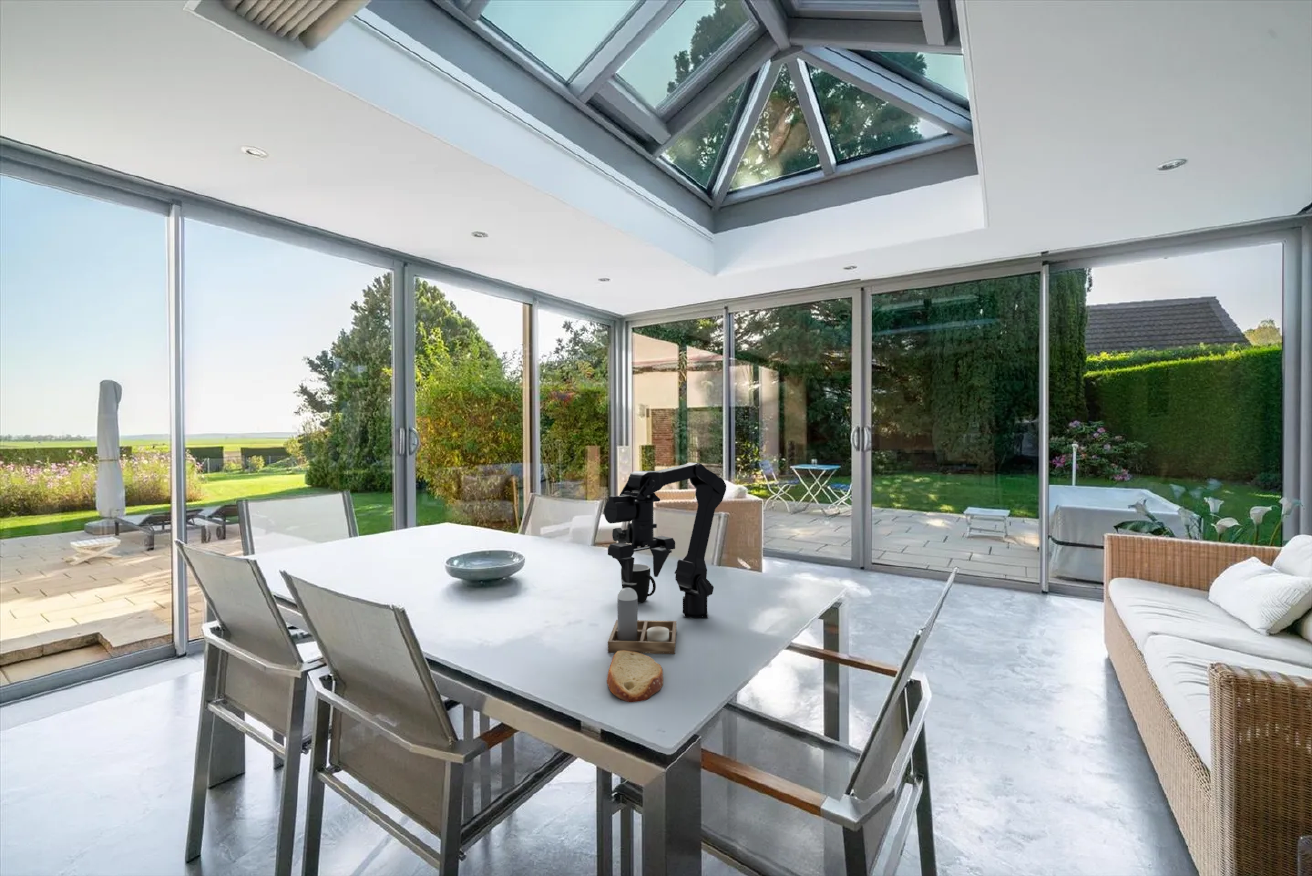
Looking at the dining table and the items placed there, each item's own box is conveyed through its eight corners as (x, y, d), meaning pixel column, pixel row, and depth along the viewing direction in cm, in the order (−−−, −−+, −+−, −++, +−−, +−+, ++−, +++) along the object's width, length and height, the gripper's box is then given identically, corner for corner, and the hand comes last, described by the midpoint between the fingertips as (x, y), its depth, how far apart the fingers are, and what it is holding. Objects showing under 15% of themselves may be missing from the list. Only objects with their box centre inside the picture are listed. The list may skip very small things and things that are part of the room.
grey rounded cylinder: (634, 639, 139) (634, 584, 139) (639, 646, 134) (639, 589, 134) (615, 641, 138) (615, 586, 138) (619, 648, 133) (619, 591, 133)
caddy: (676, 630, 147) (676, 615, 147) (674, 654, 131) (674, 636, 131) (616, 629, 148) (616, 614, 148) (607, 652, 132) (607, 635, 132)
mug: (614, 601, 173) (614, 568, 173) (633, 594, 180) (633, 562, 180) (645, 608, 165) (645, 573, 165) (664, 601, 173) (664, 568, 172)
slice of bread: (626, 655, 131) (626, 639, 131) (690, 676, 120) (690, 658, 120) (568, 682, 117) (568, 664, 117) (635, 708, 106) (635, 689, 106)
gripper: (649, 513, 159) (649, 568, 160) (594, 519, 147) (594, 580, 147) (676, 517, 151) (676, 576, 151) (621, 524, 139) (621, 588, 139)
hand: (642, 579), depth 147 cm, fingers open, 9 cm apart
